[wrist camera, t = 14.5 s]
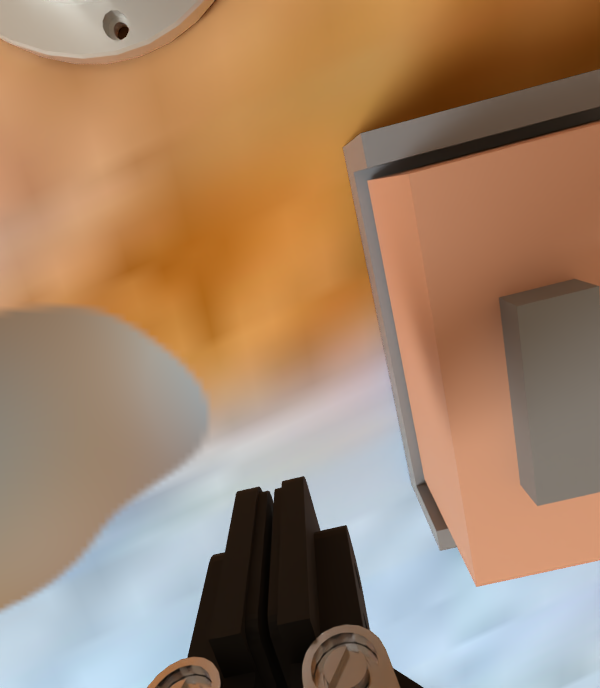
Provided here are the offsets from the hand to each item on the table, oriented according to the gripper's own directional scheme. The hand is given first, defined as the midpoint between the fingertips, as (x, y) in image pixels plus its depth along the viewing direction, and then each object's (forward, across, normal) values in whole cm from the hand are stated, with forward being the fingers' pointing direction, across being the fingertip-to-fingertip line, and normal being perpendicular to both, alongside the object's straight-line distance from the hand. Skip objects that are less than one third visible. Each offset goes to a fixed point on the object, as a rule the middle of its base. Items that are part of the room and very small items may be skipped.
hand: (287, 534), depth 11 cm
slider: (+9, -9, -1) cm, 13 cm away
